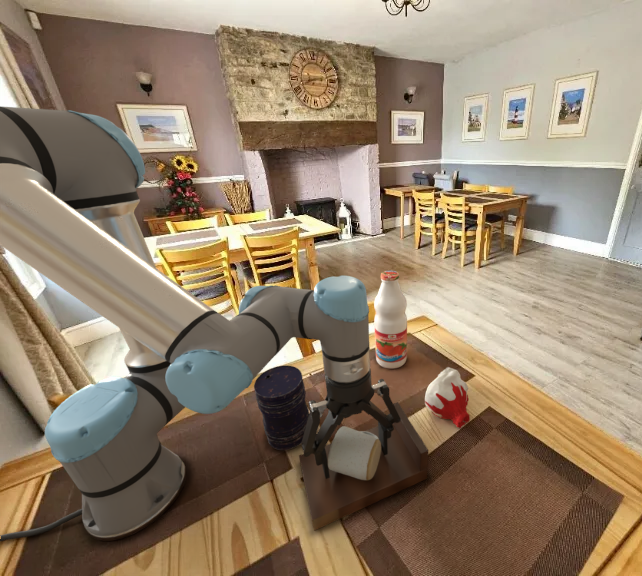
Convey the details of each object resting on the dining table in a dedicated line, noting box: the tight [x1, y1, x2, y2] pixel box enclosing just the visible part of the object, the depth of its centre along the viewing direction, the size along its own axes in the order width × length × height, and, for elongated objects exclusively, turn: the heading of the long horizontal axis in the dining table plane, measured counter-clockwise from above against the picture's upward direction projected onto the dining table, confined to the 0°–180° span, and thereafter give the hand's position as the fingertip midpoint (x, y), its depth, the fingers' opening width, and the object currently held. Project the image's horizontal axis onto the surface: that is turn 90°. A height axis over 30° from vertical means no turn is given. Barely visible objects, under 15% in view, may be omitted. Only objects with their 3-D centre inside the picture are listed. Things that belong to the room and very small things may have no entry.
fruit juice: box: [373, 270, 408, 369], centre depth 88 cm, size 9×9×28 cm
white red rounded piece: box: [424, 366, 471, 429], centre depth 73 cm, size 9×11×15 cm
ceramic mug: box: [328, 425, 381, 480], centre depth 59 cm, size 11×8×8 cm
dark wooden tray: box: [298, 402, 429, 531], centre depth 60 cm, size 22×13×8 cm, turn 113°
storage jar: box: [253, 364, 310, 451], centre depth 68 cm, size 10×10×15 cm
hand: (355, 460), depth 60 cm, fingers closed on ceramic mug, 11 cm apart
